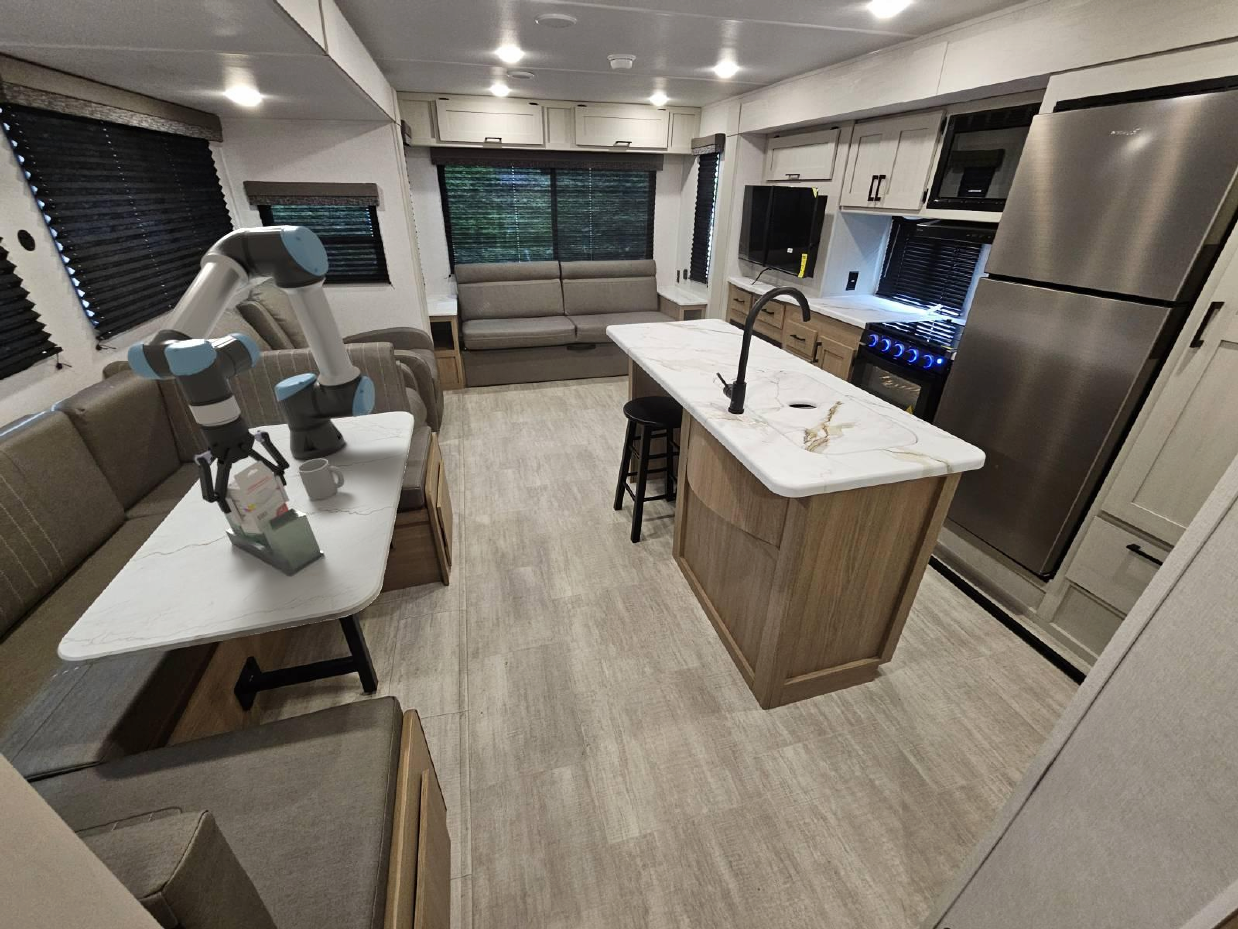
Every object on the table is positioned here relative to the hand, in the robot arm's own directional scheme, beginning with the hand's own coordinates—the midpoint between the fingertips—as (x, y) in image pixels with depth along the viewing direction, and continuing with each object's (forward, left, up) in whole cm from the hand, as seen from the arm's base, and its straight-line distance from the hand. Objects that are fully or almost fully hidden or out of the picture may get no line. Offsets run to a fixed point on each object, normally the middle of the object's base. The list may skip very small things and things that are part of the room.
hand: (262, 511), depth 116 cm
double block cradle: (0, 0, -11) cm, 11 cm away
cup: (-21, -12, -11) cm, 26 cm away
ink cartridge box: (0, 0, -3) cm, 3 cm away
